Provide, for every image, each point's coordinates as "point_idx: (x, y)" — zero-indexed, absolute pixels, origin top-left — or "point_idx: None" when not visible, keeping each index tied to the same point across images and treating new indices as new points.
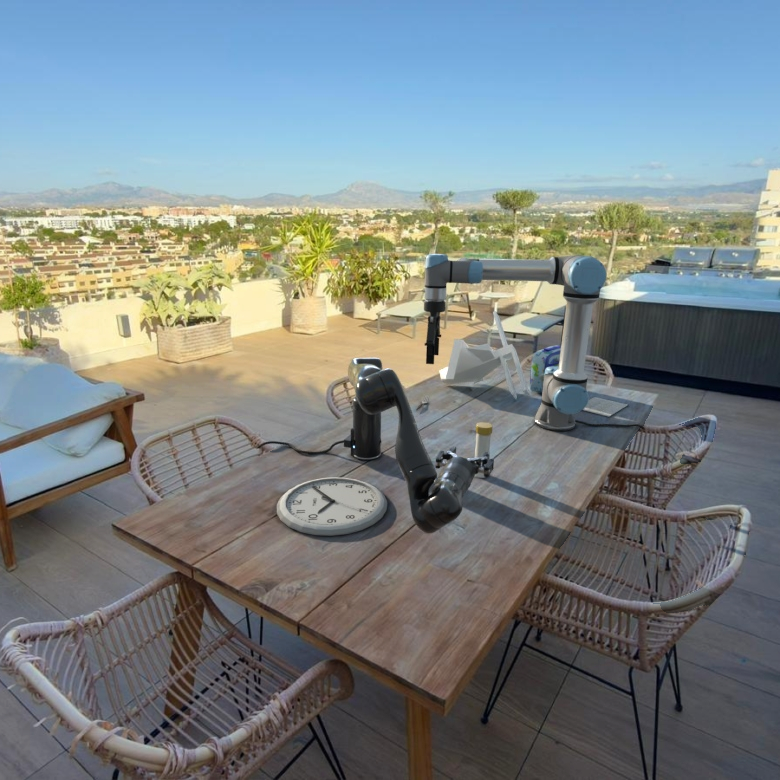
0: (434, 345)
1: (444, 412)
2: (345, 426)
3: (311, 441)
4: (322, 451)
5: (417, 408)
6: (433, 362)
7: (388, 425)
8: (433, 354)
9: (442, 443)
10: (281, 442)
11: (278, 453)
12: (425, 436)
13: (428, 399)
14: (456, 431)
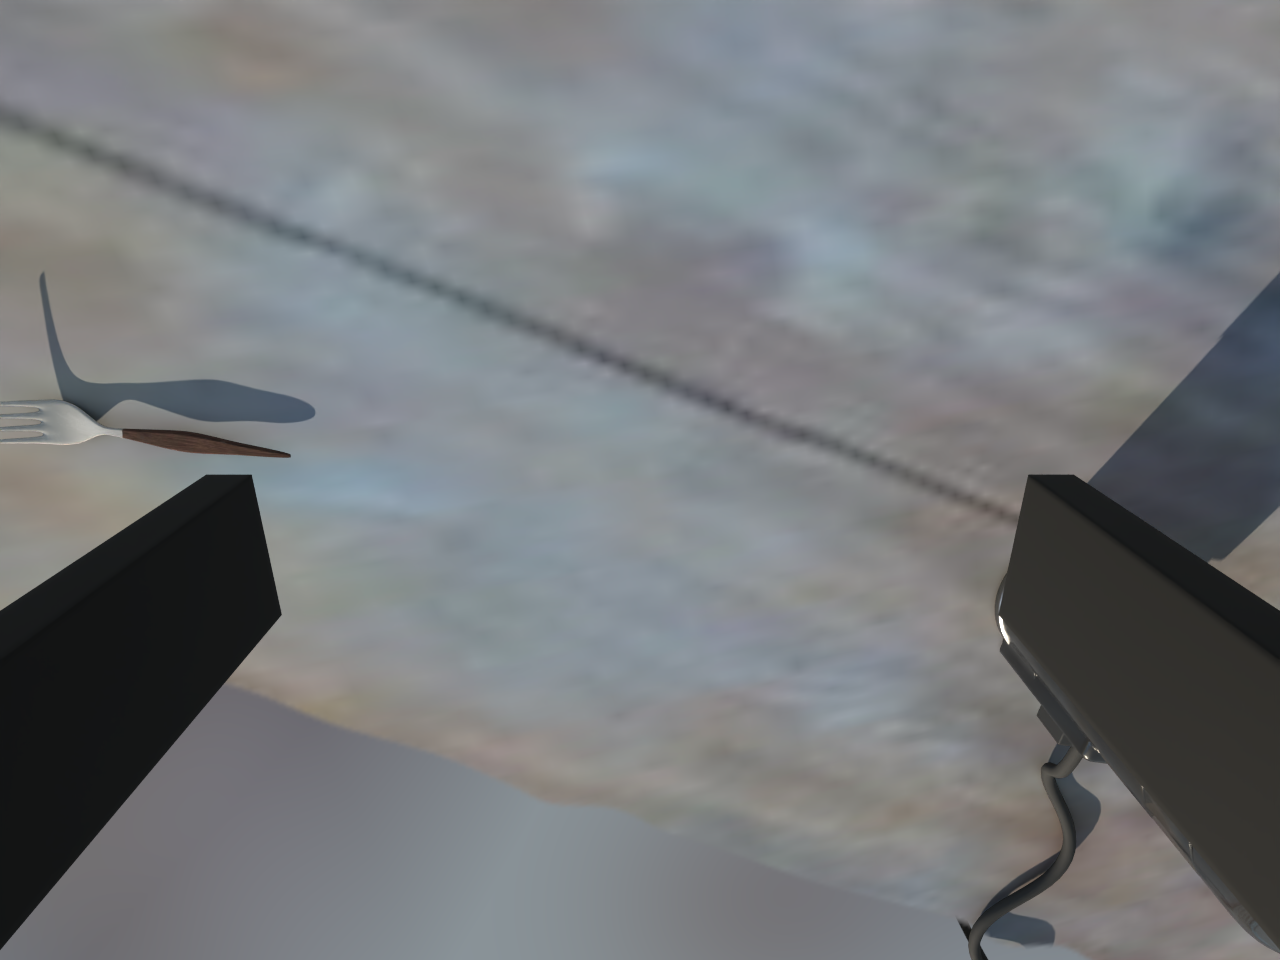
0: (129, 694)
1: (208, 238)
2: (686, 774)
3: (915, 855)
4: (1055, 787)
5: (254, 452)
6: (1098, 496)
7: (609, 574)
8: (1230, 596)
9: (855, 181)
10: (978, 952)
11: (1062, 924)
12: (747, 319)
13: (15, 402)
14: (597, 92)
